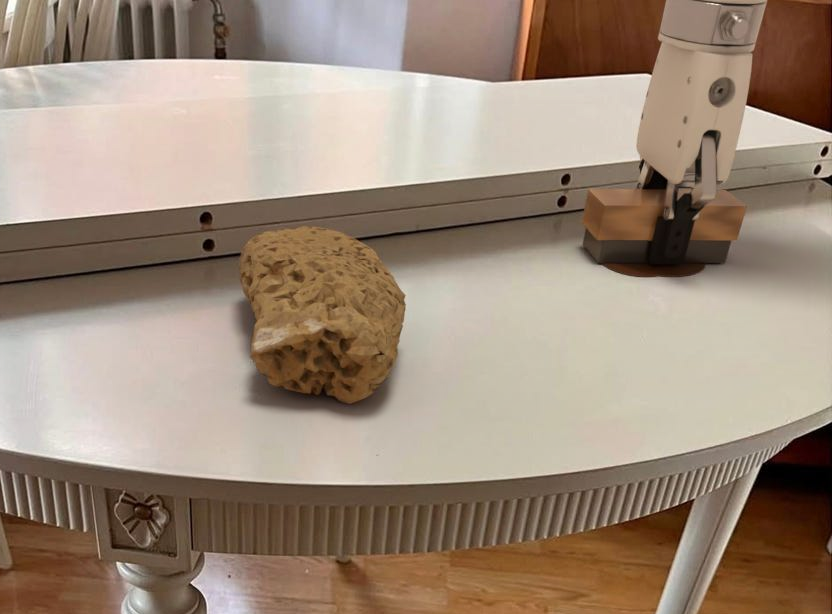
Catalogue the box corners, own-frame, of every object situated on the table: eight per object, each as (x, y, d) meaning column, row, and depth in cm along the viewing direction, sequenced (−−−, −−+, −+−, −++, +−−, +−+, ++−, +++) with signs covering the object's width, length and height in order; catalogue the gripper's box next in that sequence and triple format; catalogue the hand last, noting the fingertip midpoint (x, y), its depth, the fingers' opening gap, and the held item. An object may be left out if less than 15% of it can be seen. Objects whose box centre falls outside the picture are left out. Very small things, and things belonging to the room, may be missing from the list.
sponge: (403, 429, 66) (420, 260, 79) (389, 331, 60) (409, 164, 73) (214, 439, 69) (259, 273, 81) (182, 345, 63) (236, 181, 75)
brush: (710, 245, 93) (725, 189, 90) (730, 263, 90) (747, 206, 87) (576, 245, 91) (588, 188, 88) (592, 263, 88) (604, 205, 85)
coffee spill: (691, 239, 95) (691, 238, 95) (732, 276, 88) (733, 275, 88) (580, 239, 93) (580, 238, 93) (613, 277, 86) (614, 275, 86)
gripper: (806, 47, 73) (732, 289, 85) (710, 5, 86) (658, 220, 98) (710, 44, 72) (649, 290, 84) (628, 2, 85) (584, 220, 96)
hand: (654, 250), depth 90 cm, fingers closed on brush, 4 cm apart
